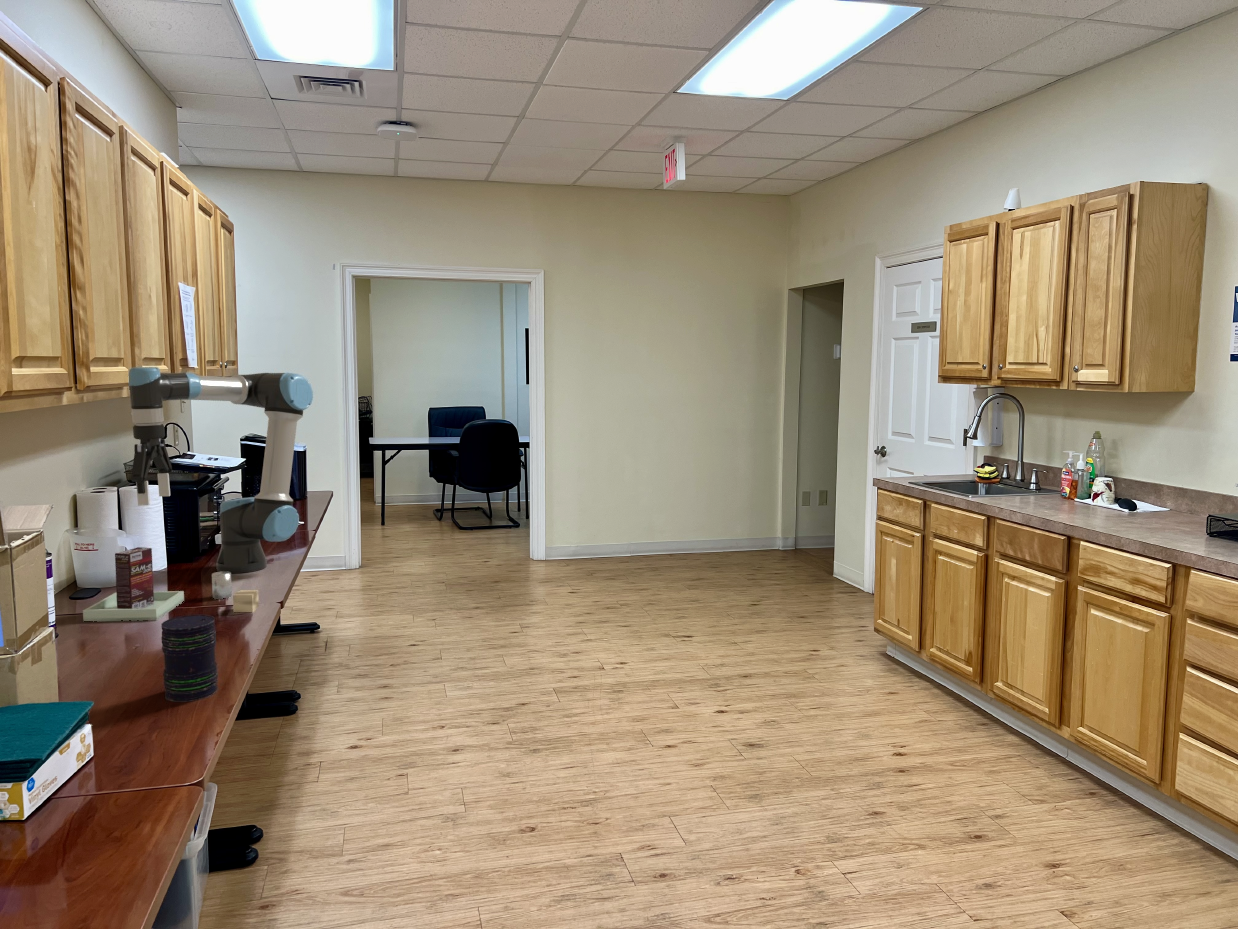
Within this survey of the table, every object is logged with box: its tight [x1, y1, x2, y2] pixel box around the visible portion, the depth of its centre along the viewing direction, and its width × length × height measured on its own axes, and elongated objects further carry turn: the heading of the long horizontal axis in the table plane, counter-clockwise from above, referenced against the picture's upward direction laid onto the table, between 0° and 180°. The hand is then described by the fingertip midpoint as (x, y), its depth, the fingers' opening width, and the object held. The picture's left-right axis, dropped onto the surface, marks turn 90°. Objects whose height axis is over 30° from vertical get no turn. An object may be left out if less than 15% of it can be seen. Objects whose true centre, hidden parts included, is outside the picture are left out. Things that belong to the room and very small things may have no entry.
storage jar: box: [160, 614, 219, 703], centre depth 173 cm, size 10×10×15 cm
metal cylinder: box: [211, 571, 233, 600], centre depth 245 cm, size 5×5×7 cm
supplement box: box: [114, 546, 155, 609], centre depth 230 cm, size 9×5×16 cm, turn 169°
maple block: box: [232, 589, 260, 613], centre depth 232 cm, size 5×5×5 cm
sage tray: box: [82, 590, 185, 623], centre depth 230 cm, size 18×18×3 cm
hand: (154, 500), depth 235 cm, fingers open, 13 cm apart
